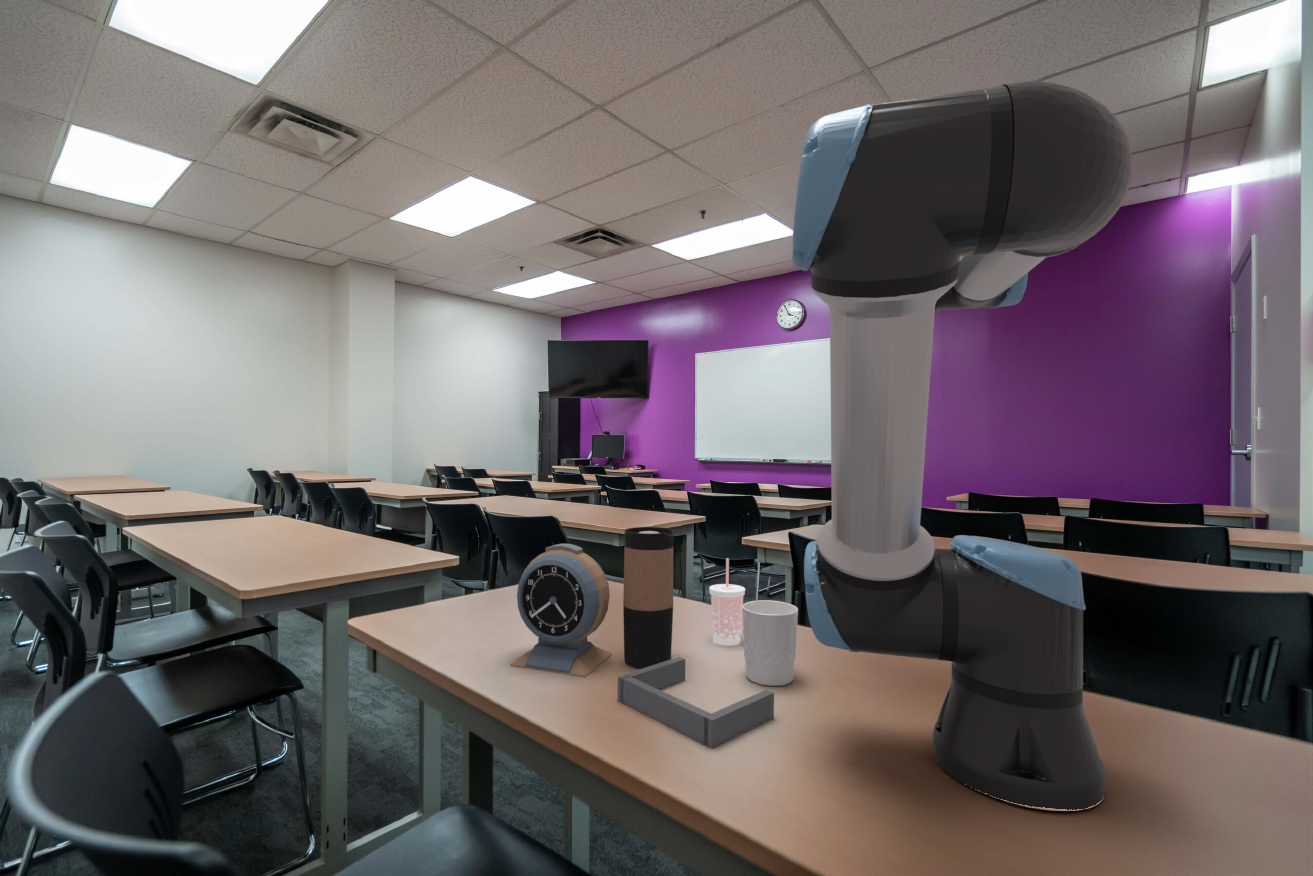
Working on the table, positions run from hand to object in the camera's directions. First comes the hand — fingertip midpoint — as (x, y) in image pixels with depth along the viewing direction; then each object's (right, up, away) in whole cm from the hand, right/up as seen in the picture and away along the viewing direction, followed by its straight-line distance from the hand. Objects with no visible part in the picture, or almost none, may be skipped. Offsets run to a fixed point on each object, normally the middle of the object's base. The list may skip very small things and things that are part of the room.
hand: (860, 521), depth 91 cm
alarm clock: (-46, -22, 0) cm, 50 cm away
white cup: (-15, -22, -5) cm, 27 cm away
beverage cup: (-19, -22, +10) cm, 31 cm away
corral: (-27, -21, -16) cm, 38 cm away
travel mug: (-33, -22, 0) cm, 39 cm away
